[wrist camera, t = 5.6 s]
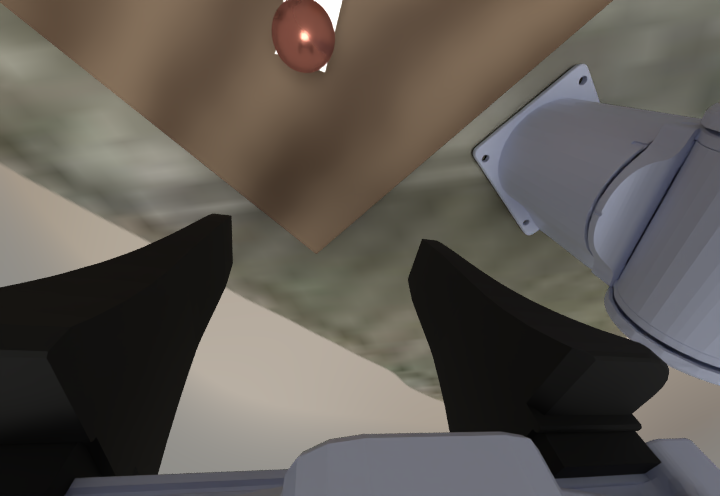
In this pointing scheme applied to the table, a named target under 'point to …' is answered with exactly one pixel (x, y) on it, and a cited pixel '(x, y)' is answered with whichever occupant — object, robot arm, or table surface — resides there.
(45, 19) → the board
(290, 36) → the lever
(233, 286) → the table surface
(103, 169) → the table surface
